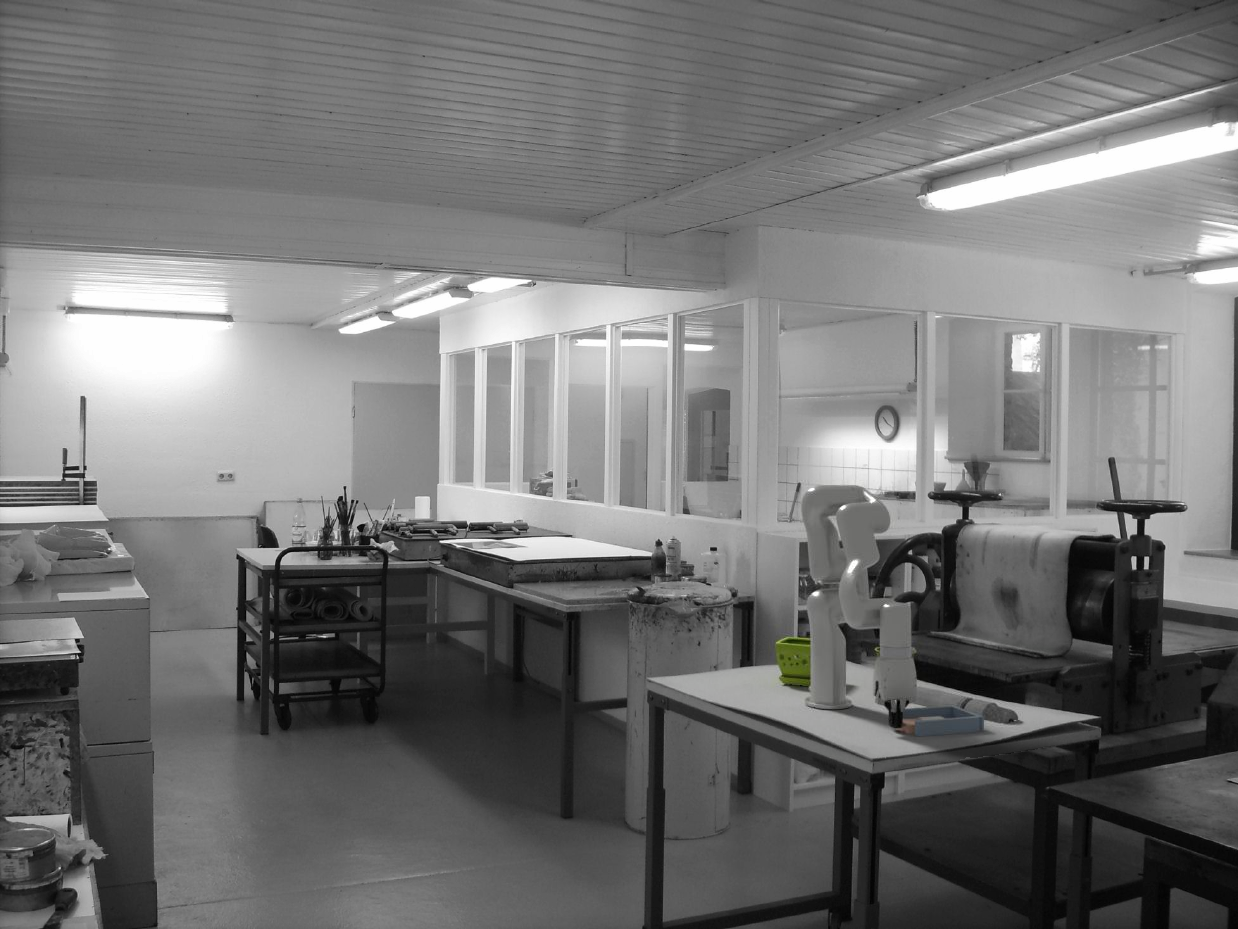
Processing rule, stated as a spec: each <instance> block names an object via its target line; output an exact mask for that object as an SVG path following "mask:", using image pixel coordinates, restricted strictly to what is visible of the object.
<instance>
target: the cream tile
mask: <svg viewBox="0 0 1238 929" xmlns="http://www.w3.org/2000/svg"><path fill="white" fill-rule="evenodd" d="M918 718H919V719H921V720H934V719H945V718H943V717H941V716H935V717H918Z"/></svg>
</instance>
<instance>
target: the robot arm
mask: <svg viewBox="0 0 1238 929" xmlns="http://www.w3.org/2000/svg"><path fill="white" fill-rule="evenodd" d="M800 504H801V505H800V509H801V518H802V521H803V524H804V528H805V531H806V536H807V551H808V554H807V555H808V566H809V574H810V577H811V579H812V580H813V581H814V582H815V583H817V584H826V585H827V584H828V585H830V584H839V586H838V588H837V587H836V588H821V589H817V590H814V591H813V592H811V594H810V595H809V596H808V597H807V600H806V612H807V616H808V617H807V618H808V622H809V634H810V638H809V639H810V640H811V686H808V691H810V696H808V697H806V698H805V699H804V704H805V705H806V706H808V707H810V708H814V707H815V709H823V710H843V709H849V708H850V707H852V705H853V702H852V700H851V699H850V698H847V641H846V637H845V635H844V633H843V632H842V630H841V628H840V626H839V625H841V624H847V625H848V627H850V628H851V629H854V630H873V629H879V647H880V658H878V657H877V658H876V659H875V665H874V670H873V678H872V695H873V696H874V697H875V700H874V703H875V704H876V705H879V706H884V707H885V708H886V710H887V711H888V724H889V727H891V728H893V729H895V730H896V729H898V728H902V723H903V712H904V711H905V709H907V708H908V706H909V705H910V704H913V703H914V702H916V695H917V687H918V682H917V681H918V680H917V670H916V666H915V660H914V659H913V658H911V656H912V653H915V650H916V648H915V647H912V609H911V608H912V607H910V605H909V604H908V603H905V602H897V601H896V600H894V599H891V598H886V597H883V598H881V597H880V598H870V589H869V588H870V587H869V576H868V575H869V574H868V573H869V572H868V568H871V567H872V566H874V565H875V564H877V563H878V562H879V560H880V558H881V557H880V556H881V555H880V552H879V551H880V550H879V548H878V545H877V540H876V537H875V535H876V534H877V535H880V534H881V535H882V534H884V533H885V532H887V531H888V530H889V529H890V526H891V515H890V511H889V510H888V508H887V506H886V505H885V504H884V503H883V502H882V501H881V500H880V499H879V498H877V497H876V496H875V495H874V494H873V493H871V491H869V490H867V489H866V488H865V487H863V486H860V485H855V484H853V485H852V484H843V485H842V484H840V485H839V484H829V485H828V484H825V485H817V486H816V485H815V486H813V487H810V488H808V489H807V490H806V491H805V492H804V494H803V496H802V498H801V503H800ZM829 517H835V519H836V523H837V527H836V526H835V524H834V523H833V522H832V520H831V519H830V518H829ZM837 528H838V529H837ZM839 536H840V540H841V544H842V548H841V547H840V540H839ZM915 654H916V653H915Z"/></svg>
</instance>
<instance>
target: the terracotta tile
mask: <svg viewBox="0 0 1238 929" xmlns="http://www.w3.org/2000/svg"><path fill="white" fill-rule="evenodd" d="M915 721H921V719H919V718H915V719H903V723H902V728H897V729H898V730H900V731H901V732H904V733H906V734H908V735H912V734H914V735H915Z"/></svg>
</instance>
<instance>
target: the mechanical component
mask: <svg viewBox="0 0 1238 929" xmlns="http://www.w3.org/2000/svg"><path fill="white" fill-rule="evenodd" d="M912 704H914V705H919V706H922V707H935V706H949V705H954V706H957V707H959V708H962V709H964V710H967V711H970V712H972V713H975V714H978V715H980V716H983V717H984V721H989V722H992V721H993V722H994V723H996V724H1001V723H1005V724H1008V723H1009V721H1010V720H1018V719H1019V715H1018V713H1017V712H1015V710H1013V709H1010V708H1005V707H1003V706H1002V707H1001V706H999V704H997V703H996V702H992V701H989V700H988V701H987V700H982V699H977V698H973V697H968V696H964V695H961V694H960V695H959V694H957V693H956V694H955V693H951V692H946V691H942V690H937V689H933V688H929V687H925V686H924V687H923V686H917V695H916V702H914V703H912ZM1018 721H1019V720H1018ZM1007 722H1008V723H1007Z"/></svg>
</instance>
